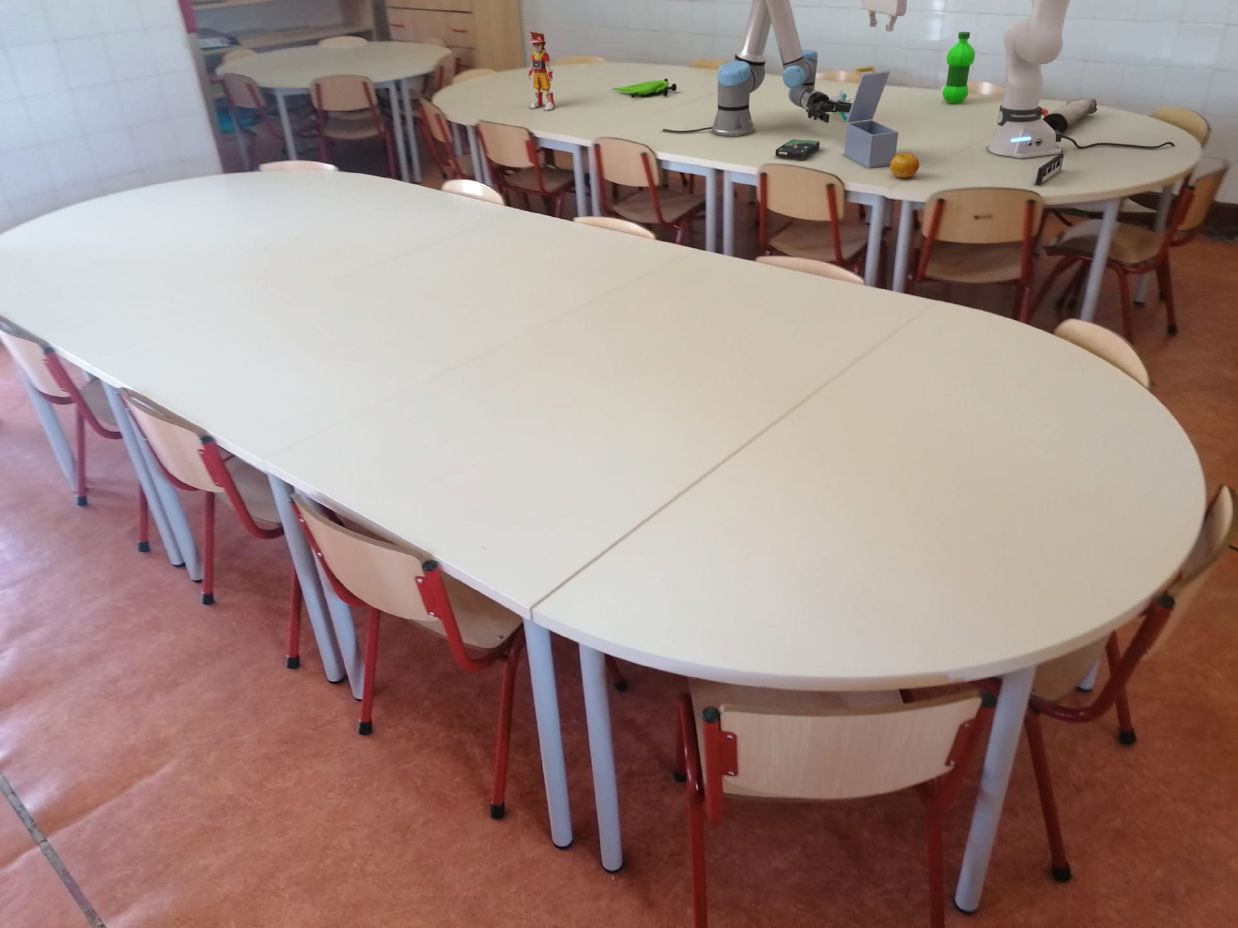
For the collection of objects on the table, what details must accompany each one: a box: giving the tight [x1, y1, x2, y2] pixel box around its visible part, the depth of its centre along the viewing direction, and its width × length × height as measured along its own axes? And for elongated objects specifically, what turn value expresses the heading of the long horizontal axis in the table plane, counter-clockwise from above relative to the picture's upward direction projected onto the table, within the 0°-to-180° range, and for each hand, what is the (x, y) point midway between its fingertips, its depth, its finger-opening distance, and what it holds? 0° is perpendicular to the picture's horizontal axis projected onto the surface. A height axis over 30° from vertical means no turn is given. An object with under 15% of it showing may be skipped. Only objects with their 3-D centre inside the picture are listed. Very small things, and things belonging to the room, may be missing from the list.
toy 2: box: [612, 78, 677, 99], centre depth 396 cm, size 28×5×30 cm
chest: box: [843, 119, 899, 169], centre depth 297 cm, size 17×9×10 cm, turn 16°
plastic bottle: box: [942, 31, 976, 104], centre depth 348 cm, size 10×10×25 cm
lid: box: [846, 65, 890, 124], centre depth 294 cm, size 18×9×8 cm
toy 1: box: [527, 31, 556, 111], centre depth 374 cm, size 12×9×30 cm
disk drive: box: [774, 138, 821, 161], centre depth 308 cm, size 10×3×15 cm
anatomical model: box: [830, 89, 852, 122], centre depth 343 cm, size 15×10×10 cm
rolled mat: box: [1042, 97, 1098, 135], centre depth 320 cm, size 30×9×10 cm
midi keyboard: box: [1035, 153, 1065, 186], centre depth 273 cm, size 18×1×5 cm, turn 138°
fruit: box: [889, 152, 920, 179], centre depth 281 cm, size 8×8×8 cm
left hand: (845, 117), depth 308 cm, fingers open, 13 cm apart
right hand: (880, 29), depth 278 cm, fingers open, 8 cm apart
